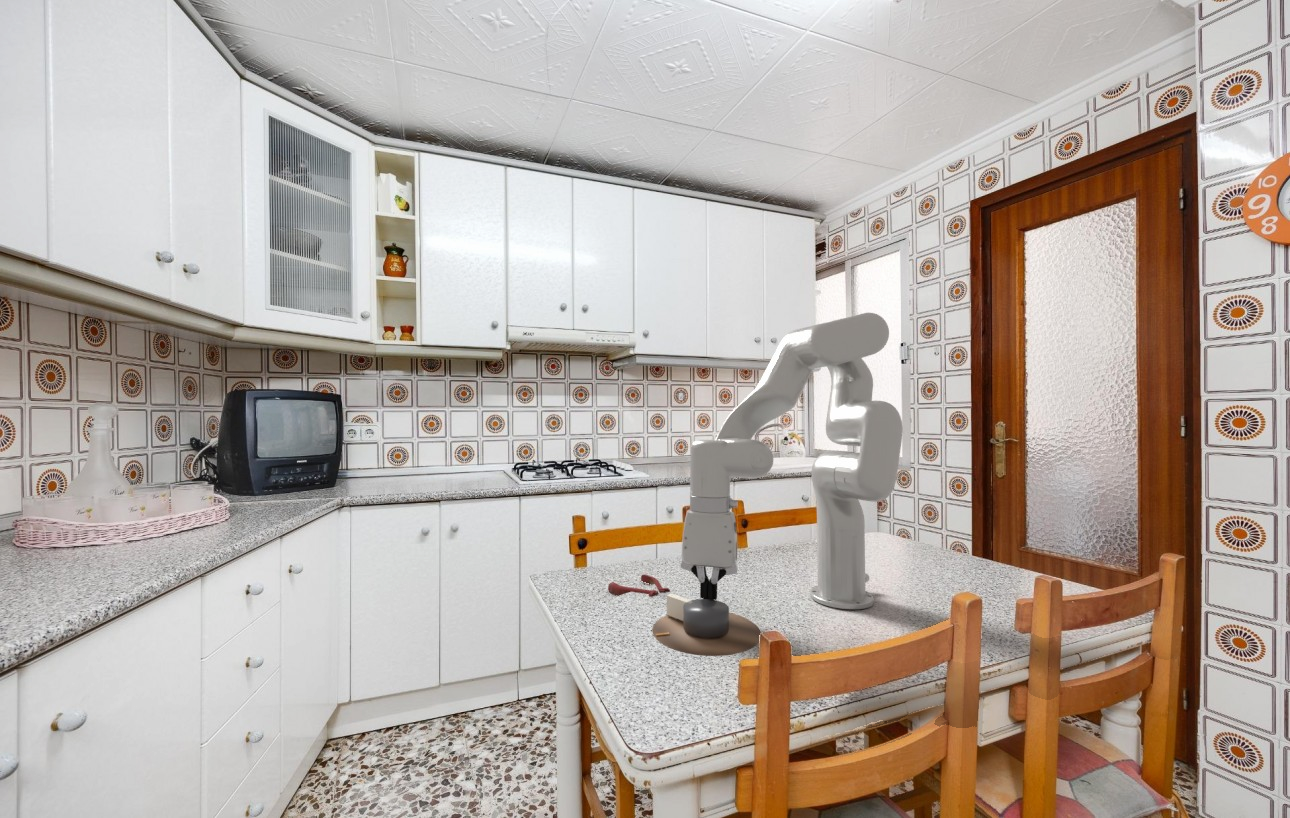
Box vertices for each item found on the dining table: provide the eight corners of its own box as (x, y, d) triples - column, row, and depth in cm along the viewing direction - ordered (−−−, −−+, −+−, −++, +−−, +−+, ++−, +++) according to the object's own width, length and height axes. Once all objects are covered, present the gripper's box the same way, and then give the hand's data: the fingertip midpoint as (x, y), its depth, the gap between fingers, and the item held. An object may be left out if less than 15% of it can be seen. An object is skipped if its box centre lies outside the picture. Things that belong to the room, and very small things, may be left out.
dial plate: (699, 609, 101) (699, 601, 101) (782, 639, 87) (782, 629, 87) (630, 638, 88) (630, 628, 88) (715, 678, 74) (714, 666, 74)
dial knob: (738, 627, 88) (738, 607, 88) (709, 642, 82) (709, 620, 82) (683, 608, 97) (683, 589, 97) (654, 619, 92) (654, 599, 92)
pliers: (662, 621, 97) (662, 607, 97) (605, 593, 113) (605, 581, 113) (704, 607, 104) (704, 594, 104) (645, 583, 120) (645, 572, 120)
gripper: (751, 504, 96) (750, 600, 95) (675, 499, 100) (674, 592, 100) (748, 510, 89) (747, 614, 88) (666, 505, 93) (665, 604, 92)
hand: (708, 602), depth 94 cm, fingers closed
